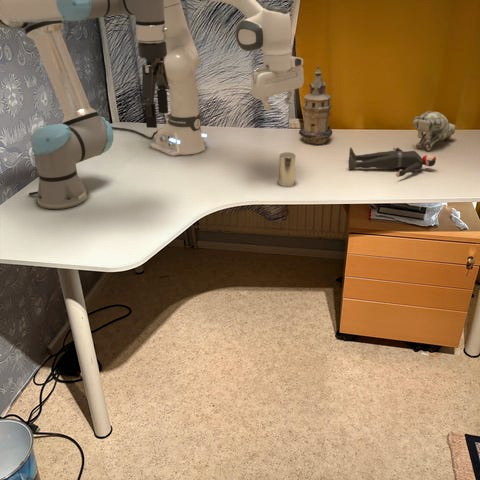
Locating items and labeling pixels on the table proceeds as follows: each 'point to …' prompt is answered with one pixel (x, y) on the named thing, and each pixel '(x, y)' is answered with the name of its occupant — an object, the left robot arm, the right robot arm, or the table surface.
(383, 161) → the toy
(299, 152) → the table surface
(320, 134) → the miniature building
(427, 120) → the figurine
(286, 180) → the canister
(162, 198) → the table surface
